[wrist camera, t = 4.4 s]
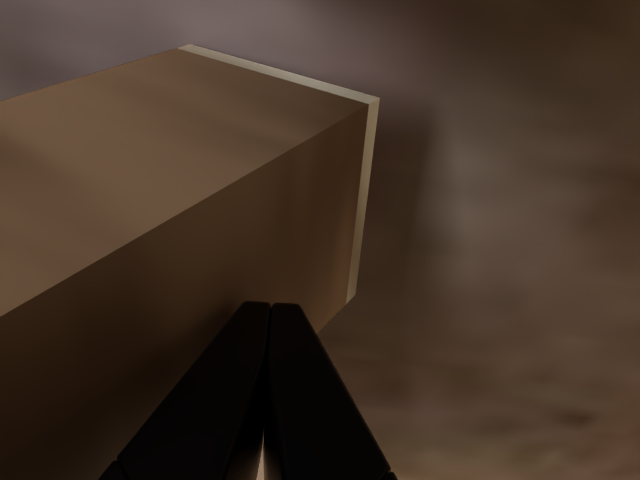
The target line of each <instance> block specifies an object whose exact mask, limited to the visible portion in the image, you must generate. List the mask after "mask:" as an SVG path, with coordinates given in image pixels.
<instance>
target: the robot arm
mask: <svg viewBox="0 0 640 480" xmlns="http://www.w3.org/2000/svg"><path fill="white" fill-rule="evenodd" d="M263 434H264V443H263ZM262 443H263V459H264V480H398V479H397V477H396V476H395V474H394V473H393V472H390V471H391V467H390V465H389V463H388V462H387V460H386V458H385V456H384V454H383V453H382V451H381V449H380V447H379V446H378V444H377V442H376V440H375V438H374V437H373V435H372V433H371V431H370V429H369V428H368V426H367V424H366V422H365V420H364V419H363V417H362V415H361V413H360V411H359V410H358V408H357V406H356V404H355V402H354V401H353V399H352V397H351V395H350V393H349V392H348V390H347V388H346V386H345V384H344V383H343V381H342V379H341V377H340V375H339V374H338V372H337V370H336V368H335V366H334V365H333V363H332V361H331V359H330V357H329V356H328V354H327V352H326V350H325V348H324V347H323V345H322V343H321V341H320V339H319V338H318V336H317V334H316V332H315V330H314V329H313V327H312V325H311V323H310V321H309V320H308V318H307V316H306V314H305V313H304V311H303V309H302V307H301V306H300V305H299V304H296V303H280V302H276V303H274V304H273V305H272V309H271V304H270V303H269V302H261V301H245V302H243V303H242V304H241V305H240V306H239V308H238V309H237V310H236V311H235V312H234V314H233V315H232V316H231V317H230V319H229V320H228V321H227V322H226V324H225V325H224V326H223V327H222V328H221V330H220V331H219V332H218V333H217V335H216V336H215V337H214V338H213V339H212V341H211V342H210V343H209V344H208V346H207V347H206V348H205V349H204V350H203V352H202V353H201V354H200V355H199V357H198V358H197V359H196V360H195V361H194V363H193V364H192V365H191V366H190V368H189V369H188V370H187V371H186V372H185V374H184V375H183V376H182V377H181V379H180V380H179V381H178V382H177V384H176V385H175V386H174V387H173V388H172V390H171V391H170V392H169V393H168V395H167V396H166V397H165V398H164V399H163V401H162V402H161V403H160V404H159V406H158V407H157V408H156V409H155V410H154V412H153V413H152V414H151V415H150V417H149V418H148V419H147V420H146V421H145V423H144V424H143V425H142V426H141V428H140V429H139V430H138V431H137V432H136V434H135V435H134V436H133V437H132V439H131V440H130V441H129V442H128V444H127V445H126V446H125V447H124V448H123V450H122V451H121V452H120V453H119V455H118V456H117V460H114V461H113V462H112V463H111V464H110V465H109V466H108V468H107V469H106V470H105V471H104V473H103V474H102V475H101V476H100V477H99V479H98V480H256V478H257V473H258V468H259V463H260V457H261V451H262Z"/></svg>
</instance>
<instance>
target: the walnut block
mask: <svg viewBox="0 0 640 480" xmlns="http://www.w3.org/2000/svg"><path fill="white" fill-rule="evenodd" d="M379 101H380V98H379V97H375V96H372V95H368V94H365V93H361V92H358V91H354V90H351V89H347V88H344V87H340V86H336V85H333V84H329V83H326V82H322V81H319V80H315V79H312V78H308V77H305V76H301V75H298V74H294V73H291V72H287V71H284V70H280V69H277V68H273V67H269V66H266V65H262V64H259V63H255V62H252V61H248V60H245V59H241V58H238V57H234V56H231V55H227V54H224V53H220V52H217V51H213V50H210V49H206V48H202V47H199V46H195V45H192V44H189V45H186V46H182V47H179V48H176V49H172V50H169V51H166V52H162V53H159V54H156V55H152V56H149V57H145V58H142V59H139V60H135V61H132V62H129V63H125V64H122V65H119V66H115V67H112V68H109V69H105V70H102V71H99V72H95V73H92V74H89V75H85V76H82V77H79V78H75V79H72V80H69V81H65V82H62V83H59V84H55V85H52V86H49V87H45V88H42V89H39V90H35V91H32V92H29V93H25V94H22V95H19V96H15V97H12V98H9V99H5V100H2V101H0V480H98V479H99V477H100V476H101V475H102V474H103V473H104V471H105V470H106V469H107V468H108V466H109V465H110V464H111V463H112V462H113V461H114V460H117V456H118V455H119V453H120V452H121V451H122V450H123V448H124V447H125V446H126V445H127V444H128V442H129V441H130V440H131V439H132V437H133V436H134V435H135V434H136V432H137V431H138V430H139V429H140V428H141V426H142V425H143V424H144V423H145V421H146V420H147V419H148V418H149V417H150V415H151V414H152V413H153V412H154V410H155V409H156V408H157V407H158V406H159V404H160V403H161V402H162V401H163V399H164V398H165V397H166V396H167V395H168V393H169V392H170V391H171V390H172V388H173V387H174V386H175V385H176V384H177V382H178V381H179V380H180V379H181V377H182V376H183V375H184V374H185V372H186V371H187V370H188V369H189V368H190V366H191V365H192V364H193V363H194V361H195V360H196V359H197V358H198V357H199V355H200V354H201V353H202V352H203V350H204V349H205V348H206V347H207V346H208V344H209V343H210V342H211V341H212V339H213V338H214V337H215V336H216V335H217V333H218V332H219V331H220V330H221V328H222V327H223V326H224V325H225V324H226V322H227V321H228V320H229V319H230V317H231V316H232V315H233V314H234V312H235V311H236V310H237V309H238V308H239V306H240V305H241V304H242V303H243V302H245V301H261V302H269V303H270V304H271V309H272V305H273V304H274V303H276V302H280V303H296V304H299V305H300V306H301V307H302V309H303V311H304V313H305V314H306V316H307V318H308V320H309V321H310V323H311V325H312V327H313V329H314V330H315V332H316V334H317V333H318V332H319V331H320V330H321V329H322V328H323V327H324V326H325V325H326V324H327V323H328V322H329V321H330V320H331V319H332V318H333V317H334V316H335V315H336V314H337V313H338V312H339V311H340V310H341V309H342V308H343V307H344V306H345V305H346V304H347V303H348V302H349V301H350V300H351V299H352V298H353V297H354V296H355V294H356V286H357V278H358V270H359V262H360V254H361V246H362V238H363V230H364V222H365V214H366V206H367V198H368V189H369V181H370V173H371V165H372V157H373V149H374V141H375V133H376V125H377V117H378V109H379Z"/></svg>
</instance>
